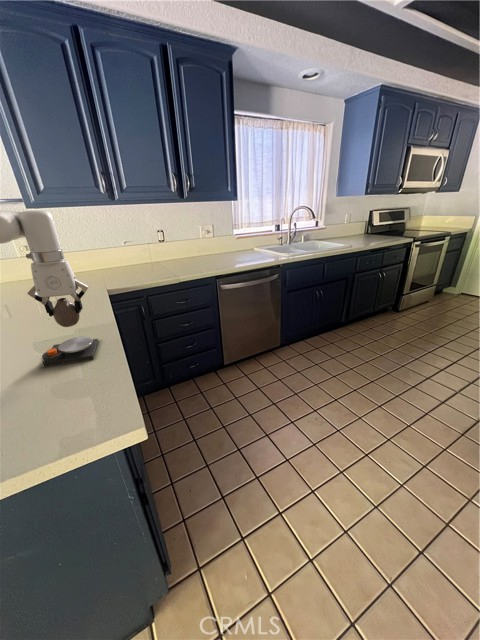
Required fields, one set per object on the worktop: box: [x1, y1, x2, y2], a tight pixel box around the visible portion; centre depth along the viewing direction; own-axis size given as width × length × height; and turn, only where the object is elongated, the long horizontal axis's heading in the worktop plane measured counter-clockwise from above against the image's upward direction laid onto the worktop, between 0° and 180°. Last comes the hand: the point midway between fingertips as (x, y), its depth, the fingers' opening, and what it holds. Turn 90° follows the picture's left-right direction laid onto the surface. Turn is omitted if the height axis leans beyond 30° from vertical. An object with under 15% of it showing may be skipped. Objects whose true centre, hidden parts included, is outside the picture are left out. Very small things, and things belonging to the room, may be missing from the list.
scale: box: [41, 338, 99, 368], centre depth 89 cm, size 14×12×3 cm
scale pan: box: [58, 336, 93, 353], centre depth 89 cm, size 10×10×1 cm
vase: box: [52, 297, 81, 328], centre depth 84 cm, size 7×7×9 cm
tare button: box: [46, 347, 58, 356], centre depth 84 cm, size 3×3×2 cm
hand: (66, 312), depth 84 cm, fingers closed on vase, 6 cm apart
